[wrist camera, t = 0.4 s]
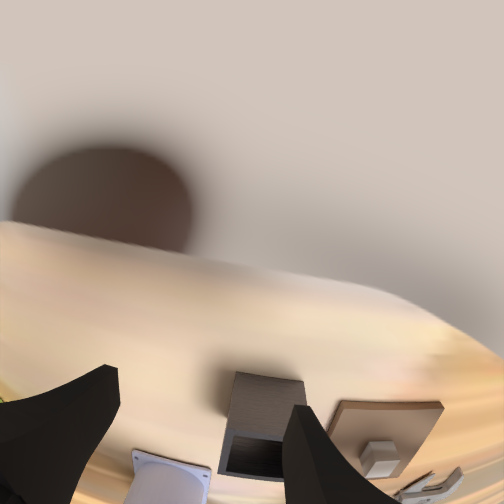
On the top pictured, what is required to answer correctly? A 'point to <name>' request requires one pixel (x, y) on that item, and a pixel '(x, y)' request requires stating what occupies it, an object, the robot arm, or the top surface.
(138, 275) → the top surface
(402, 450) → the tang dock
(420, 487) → the adjustable wrench
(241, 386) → the hollow square tube
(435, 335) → the top surface
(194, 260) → the top surface
